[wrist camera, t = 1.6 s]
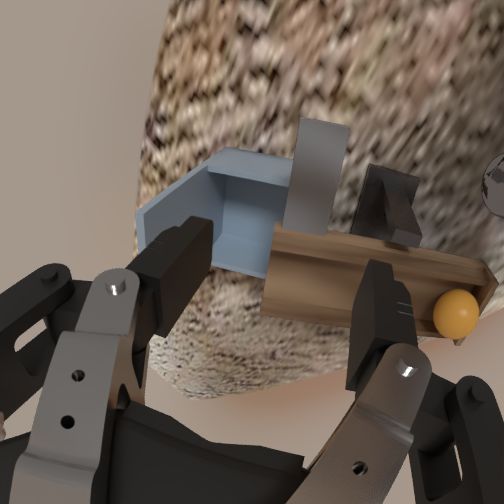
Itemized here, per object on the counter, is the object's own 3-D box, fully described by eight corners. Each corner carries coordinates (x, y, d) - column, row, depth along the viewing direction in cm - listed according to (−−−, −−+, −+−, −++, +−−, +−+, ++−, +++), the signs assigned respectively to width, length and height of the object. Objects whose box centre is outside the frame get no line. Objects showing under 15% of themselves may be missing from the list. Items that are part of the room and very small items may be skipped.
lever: (292, 115, 19) (290, 123, 16) (518, 180, 18) (539, 197, 15) (262, 296, 27) (258, 321, 24) (450, 322, 26) (459, 345, 23)
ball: (438, 276, 22) (458, 311, 19) (474, 280, 22) (495, 313, 19) (419, 314, 24) (434, 350, 21) (454, 316, 24) (470, 349, 21)
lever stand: (369, 163, 28) (378, 209, 19) (417, 177, 28) (446, 228, 19) (337, 273, 36) (329, 345, 27) (379, 283, 35) (382, 357, 26)
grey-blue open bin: (225, 147, 32) (135, 212, 18) (326, 166, 30) (306, 253, 17) (219, 233, 37) (148, 329, 24) (306, 255, 35) (275, 370, 22)
